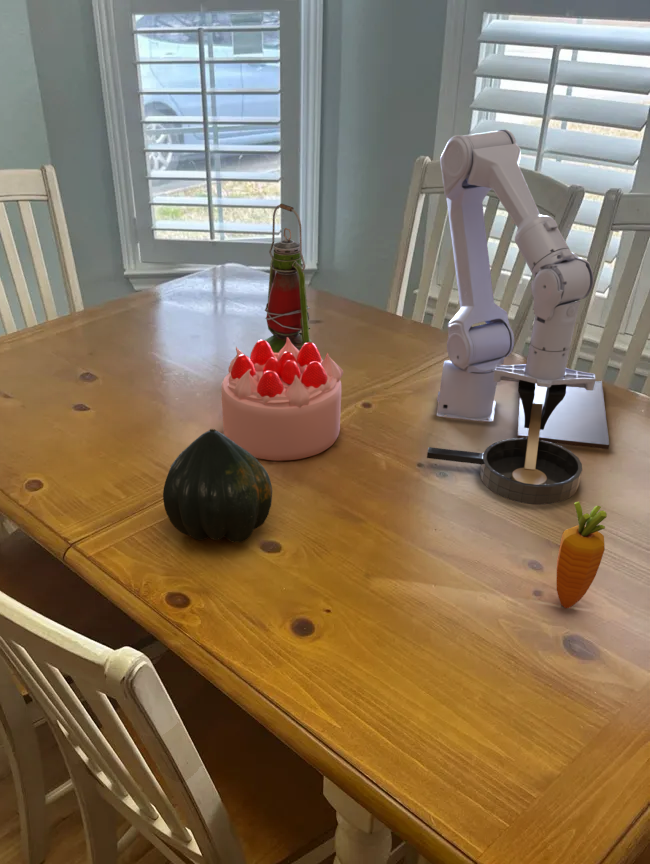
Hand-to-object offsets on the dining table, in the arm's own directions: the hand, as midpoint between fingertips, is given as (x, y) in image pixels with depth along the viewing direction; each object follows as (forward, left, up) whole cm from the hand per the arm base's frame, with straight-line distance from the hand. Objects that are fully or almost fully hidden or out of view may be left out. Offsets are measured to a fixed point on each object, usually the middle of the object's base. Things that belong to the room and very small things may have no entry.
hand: (533, 425), depth 129 cm
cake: (-40, -4, -5) cm, 40 cm away
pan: (0, -10, -4) cm, 11 cm away
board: (+5, +14, -4) cm, 16 cm away
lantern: (-46, +23, -5) cm, 52 cm away
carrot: (+5, -39, -5) cm, 39 cm away
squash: (-42, -33, -5) cm, 53 cm away
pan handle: (-11, -10, -2) cm, 15 cm away
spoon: (0, -5, -4) cm, 7 cm away
